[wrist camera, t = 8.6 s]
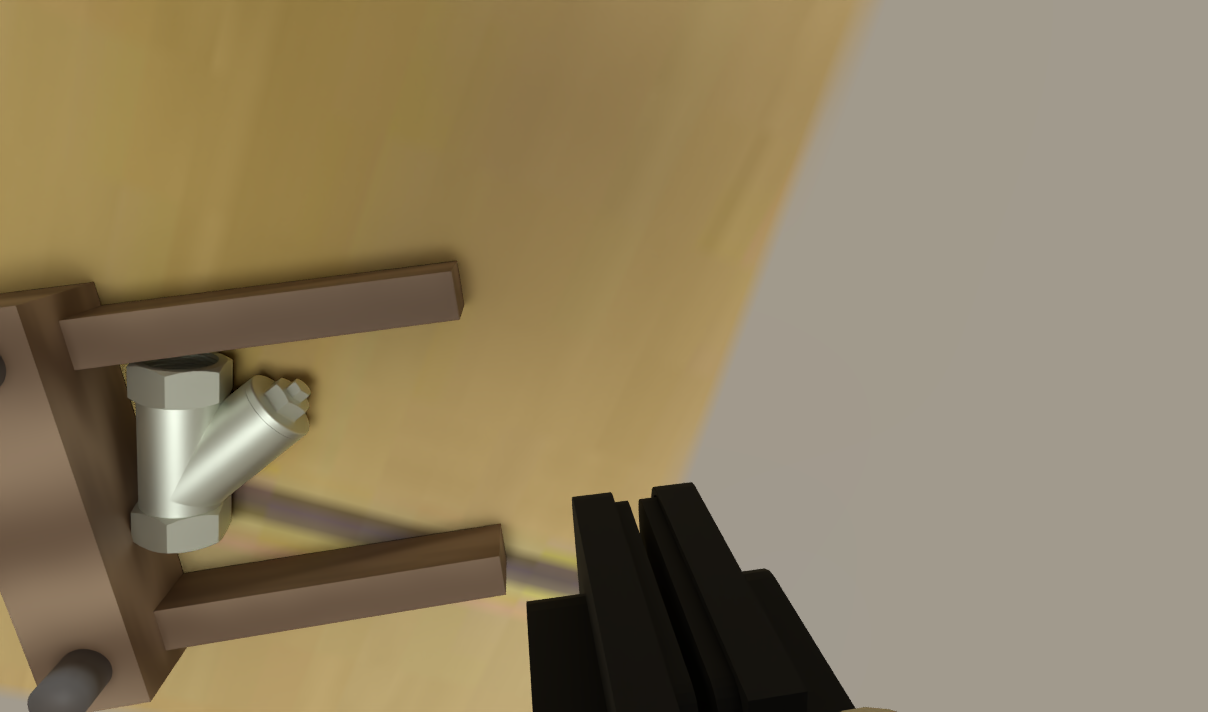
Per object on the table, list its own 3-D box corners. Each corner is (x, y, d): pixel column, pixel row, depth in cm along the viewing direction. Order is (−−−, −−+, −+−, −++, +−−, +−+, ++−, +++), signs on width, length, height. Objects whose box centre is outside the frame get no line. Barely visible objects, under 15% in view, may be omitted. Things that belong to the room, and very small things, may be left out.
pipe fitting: (319, 356, 33) (154, 344, 32) (302, 382, 29) (115, 370, 28) (312, 515, 35) (157, 511, 34) (296, 558, 31) (121, 556, 30)
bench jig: (-8, 294, 30) (-156, 333, 23) (453, 238, 32) (436, 260, 25) (113, 641, 35) (18, 757, 28) (509, 577, 36) (508, 672, 30)
